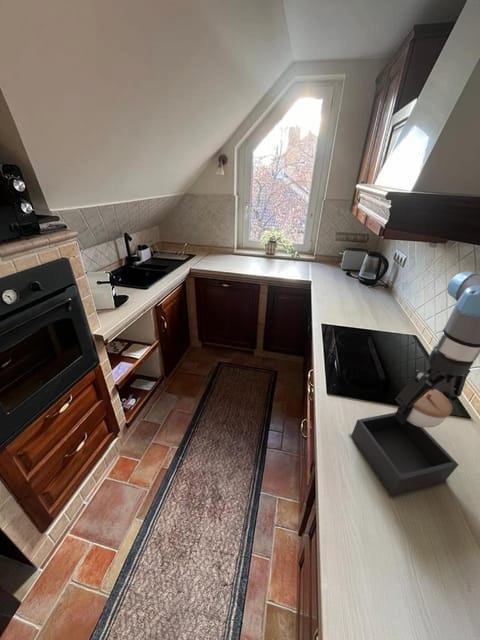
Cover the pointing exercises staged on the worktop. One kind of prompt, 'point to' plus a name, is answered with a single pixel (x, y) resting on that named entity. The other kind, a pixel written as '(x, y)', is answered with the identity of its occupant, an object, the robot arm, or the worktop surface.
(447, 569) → the worktop surface
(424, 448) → the tray
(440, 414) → the trinket box
